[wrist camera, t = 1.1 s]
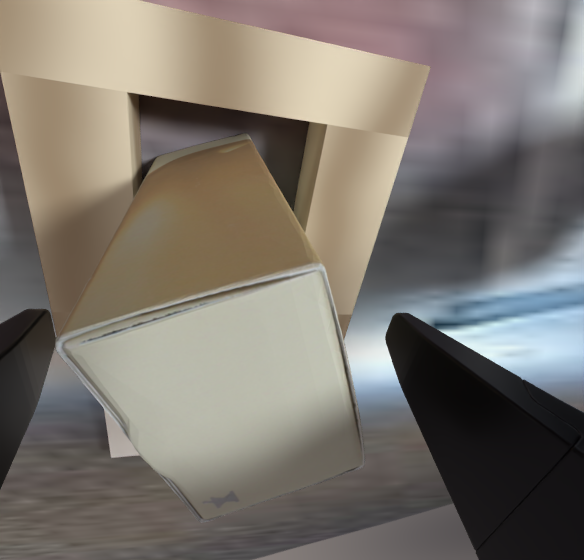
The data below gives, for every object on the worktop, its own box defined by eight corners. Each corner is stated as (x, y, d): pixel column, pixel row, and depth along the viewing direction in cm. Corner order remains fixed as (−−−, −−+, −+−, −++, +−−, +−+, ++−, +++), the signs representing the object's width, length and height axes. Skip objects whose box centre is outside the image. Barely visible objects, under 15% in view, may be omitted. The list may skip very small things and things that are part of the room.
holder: (399, 64, 15) (430, 66, 13) (327, 322, 22) (340, 349, 20) (17, -21, 11) (-23, -37, 9) (76, 321, 18) (60, 355, 16)
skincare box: (281, 249, 19) (373, 476, 9) (202, 273, 19) (203, 535, 8) (247, 122, 15) (337, 260, 5) (147, 150, 15) (36, 352, 5)
